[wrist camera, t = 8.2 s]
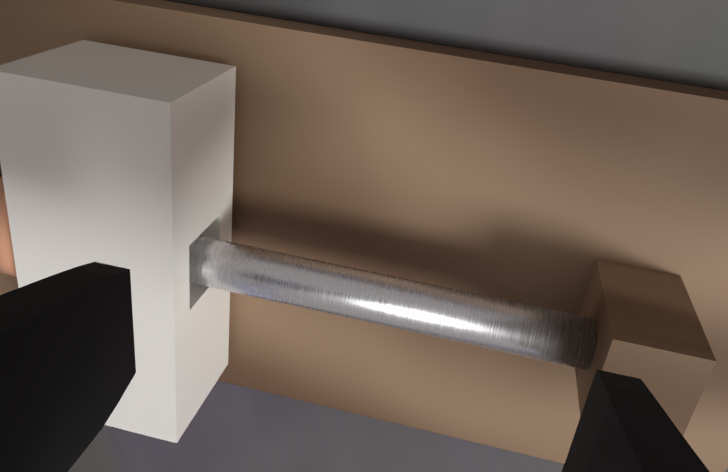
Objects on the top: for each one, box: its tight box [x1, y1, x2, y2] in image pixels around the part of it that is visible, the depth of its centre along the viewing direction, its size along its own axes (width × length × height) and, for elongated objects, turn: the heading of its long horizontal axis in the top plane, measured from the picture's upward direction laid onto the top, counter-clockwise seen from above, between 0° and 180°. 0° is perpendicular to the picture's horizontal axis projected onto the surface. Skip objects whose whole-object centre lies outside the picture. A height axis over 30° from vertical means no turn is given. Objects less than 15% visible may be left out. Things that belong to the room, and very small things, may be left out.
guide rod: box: [189, 235, 598, 370], centre depth 17 cm, size 1×19×1 cm, turn 84°
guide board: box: [0, 0, 728, 472], centre depth 17 cm, size 11×26×4 cm, turn 83°
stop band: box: [0, 176, 17, 277], centre depth 17 cm, size 3×1×3 cm, turn 173°
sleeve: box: [0, 40, 236, 443], centre depth 17 cm, size 9×4×3 cm, turn 173°
